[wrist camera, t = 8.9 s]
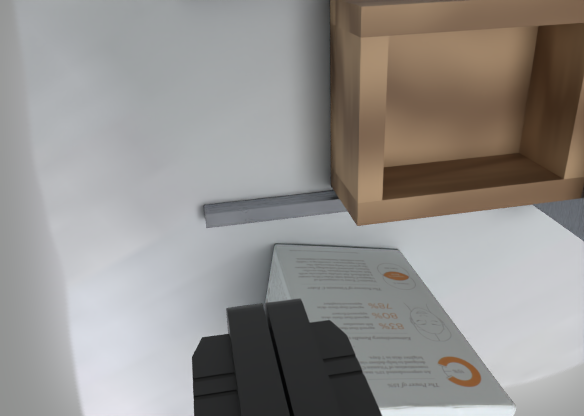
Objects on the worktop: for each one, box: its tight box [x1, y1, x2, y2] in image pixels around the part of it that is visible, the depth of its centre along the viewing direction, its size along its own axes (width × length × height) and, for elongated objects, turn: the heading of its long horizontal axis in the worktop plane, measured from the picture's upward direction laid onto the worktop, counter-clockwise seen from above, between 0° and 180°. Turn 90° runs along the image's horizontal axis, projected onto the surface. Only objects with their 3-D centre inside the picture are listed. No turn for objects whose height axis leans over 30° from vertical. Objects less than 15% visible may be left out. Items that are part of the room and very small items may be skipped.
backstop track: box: [204, 186, 584, 241], centre depth 26 cm, size 14×21×8 cm, turn 92°
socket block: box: [330, 0, 584, 226], centre depth 27 cm, size 10×12×5 cm
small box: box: [265, 244, 516, 416], centre depth 28 cm, size 8×6×13 cm
